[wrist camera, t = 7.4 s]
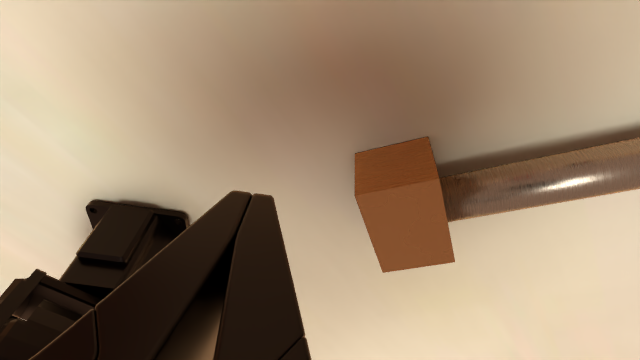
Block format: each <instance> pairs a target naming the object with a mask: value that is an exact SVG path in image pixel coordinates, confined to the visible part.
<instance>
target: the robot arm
mask: <svg viewBox="0 0 640 360" xmlns="http://www.w3.org/2000/svg"><path fill="white" fill-rule="evenodd" d="M86 211H87V214H88V217H89V219H90V222H91V225H92V228H93V231H92V232H91V234H90V235H89V236H88V238H87V239H86V240H85V242H84V243H83V244H82V246H81V247H80V248H79V250H78V251H77V253H76V255H77V256H76V257H75V259H74V260H73V261H72V263H71V264H70V265H69V267H68V268H67V270H66V271H65V272H64V274H63V275H62V276H61V278H60V279H59V280H58V279H55V278H53V277H51V276H48V275H46V274H47V273H46V272H44V271H41V270H39V269H36V270H35V271H34V272H33V273H32V274H31V276H30V277H29V278H27V279H15V280H14V281H13V282H12V283H11V285H10V286H9V287H8V288H7V289H6V291H5V292H4V293H3V294H2V295H1V296H0V360H311V356H310V352H309V348H308V343H307V339H306V338H305V331H304V327H303V323H302V318H301V314H300V310H299V306H298V301H297V297H296V293H295V288H294V284H293V280H292V275H291V271H290V267H289V263H288V258H287V254H286V250H285V245H284V241H283V237H282V232H281V228H280V224H279V220H278V215H277V211H276V207H275V202H274V198H273V197H272V196H271V195H264V194H257V193H256V194H254V195H253V196H252V194H251V193H249V192H242V191H231V192H230V193H229V194H227V195H226V196H225V197H224V198H223V199H221V200H220V201H219V202H218V203H217V204H216V205H214V206H213V207H212V208H211V209H210V210H208V211H207V212H206V213H205V214H204V215H202V216H201V217H200V218H199V219H198V220H197V221H195V222H194V223H193V224H192V225H191V226H189V224H188V218H187V216H186V215H185V214H183V213H181V212H175V211H168V210H160V209H153V208H145V207H137V206H130V205H122V204H115V203H107V202H99V201H91V202H89V204H88V205H87V206H86ZM178 219H179V220H178ZM20 318H22V319H20ZM23 319H24V320H23ZM26 320H27V321H26Z"/></svg>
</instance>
